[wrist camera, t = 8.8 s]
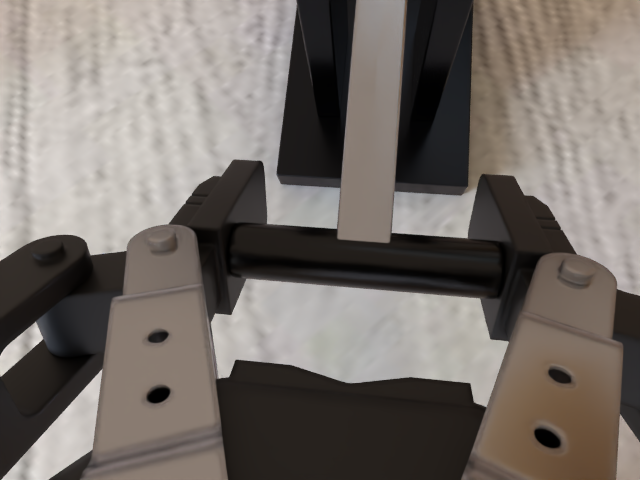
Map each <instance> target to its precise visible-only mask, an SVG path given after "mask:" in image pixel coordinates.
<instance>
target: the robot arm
mask: <svg viewBox="0 0 640 480" xmlns="http://www.w3.org/2000/svg"><path fill="white" fill-rule="evenodd" d="M238 222H245V223H259V224H267V206H266V190H265V174H264V166H263V163H262V161H251V160H233V161H232V162H231V164H230V165H229V167H228V168H227V169H226V171H225V172H224V174H223V175H222V176H221V177H219V176H213V177H211V178H210V179H208V180H206V181H204V182H203V183H201V184H199V186H198V187H197V188H196V189H195V191H194V192H193V193H192V196H190V197H189V198H188V200H187V201H186V204H184V205H183V206H182V207H181V209H180V210H179V211H178V213H177V214H176V215H175V216H174V218H173V219H172V220H171V222H170V223H169V224H168V225H160V226H155V227H151V228H148V229H145V230H143V231H141V232H139V233H138V234H136V235H135V236H134V237H132V239H131V240H130V241H129V243H128V246H127V251H124V252H117V253H108V254H99V255H90V253H89V250H88V247H87V243H86V242H85V240H83V239H82V238H80V237H77V236H73V235H56V236H50V237H45V238H42V239H38V240H36V241H33V242H31V243H29V244H27V245H25V246H23V247H21V248H20V249H18V250H17V251H15V252H14V253H12V254H11V255H9V256H8V257H6V258H5V259H3V260H1V261H0V355H1V353H2V352H3V350H4V349H5V347H6V346H7V345H8V344H9V343H11V342H12V341H13V340H14V339H15V338H17V337H18V336H19V335H20V334H21V333H23V332H24V331H25V330H26V329H27V328H29V327H30V326H31V325H32V324H33V323H35V322H36V323H37V325H38V327H39V330H40V332H41V334H42V336H43V340H42V341H41V342H40V343H39V344H38V345H36V346H35V347H34V348H33V349H32V350H31V351H30V352H29V353H27V354H26V355H25V356H24V357H23V358H22V359H21V360H19V361H18V362H17V363H16V364H15V365H14V366H13V367H12V368H10V369H9V370H8V371H7V372H6V373H5V374H4V375H3V376H1V377H0V480H1V479H2V478H3V477H4V476H5V475H6V474H7V473H8V471H9V470H10V469H11V468H12V467H13V466H14V465H15V464H16V463H17V462H18V460H19V459H20V458H21V457H22V456H23V455H24V454H25V453H26V452H27V451H28V450H29V448H30V447H31V446H32V445H33V444H34V443H35V442H36V441H37V440H38V439H39V437H40V436H41V435H42V434H43V433H44V432H45V431H46V430H47V429H48V428H49V427H50V425H51V424H52V423H53V422H54V421H55V420H56V419H57V418H58V417H59V416H60V414H61V413H62V412H63V411H64V410H65V409H66V408H67V407H68V406H69V405H70V404H71V402H72V401H73V400H74V399H75V398H76V397H77V396H78V395H79V394H80V393H81V391H82V390H83V389H84V388H85V387H86V386H87V385H88V384H89V383H90V382H91V380H92V379H93V378H94V377H95V376H96V375H97V374H98V373H99V372H100V371H101V370H102V368H103V371H102V379H101V387H100V395H99V403H98V411H97V419H96V427H95V435H94V443H93V450H91V451H90V452H88V453H87V454H86V455H84V456H83V457H81V458H80V459H78V460H77V461H75V462H74V463H72V464H71V465H69V466H68V467H66V468H65V469H63V470H62V471H61V472H59V473H58V474H56V475H55V476H53V477H52V478H50V479H49V480H616V471H617V454H618V436H619V418H620V414H621V416H622V417H623V419H624V420H625V421H626V423H627V424H628V426H629V427H630V429H631V430H632V431H633V433H634V434H635V436H636V437H637V439H638V440H639V441H640V296H638V295H634V294H630V293H627V292H623V291H621V290H618V289H617V281H616V278H615V277H614V275H613V274H612V273H611V272H610V271H609V270H608V269H607V268H606V267H604V266H603V265H601V264H599V263H598V262H596V261H594V260H591V259H589V258H586V257H583V256H580V255H577V254H576V252H575V251H574V249H573V247H572V246H571V244H570V242H569V241H568V239H567V237H566V236H565V234H564V232H563V231H562V230H561V227H560V226H559V224H558V222H557V221H555V217H554V216H553V214H552V212H551V211H550V209H549V207H548V206H547V205H545V204H544V203H542V202H541V201H540V200H538V199H537V198H535V197H534V196H524V194H523V192H522V191H521V189H520V187H519V185H518V183H517V181H516V179H515V177H514V176H507V175H489V174H482V175H481V177H480V179H479V183H478V187H477V192H476V196H475V201H474V206H473V211H472V215H471V220H470V225H469V230H468V239H481V240H495V241H498V242H500V243H501V245H502V248H503V252H504V258H505V273H504V280H503V285H502V288H501V291H500V293H499V295H498V297H497V298H495V299H482V298H480V300H481V304H482V307H483V311H484V315H485V319H486V323H487V327H488V331H489V335H490V339H493V340H504V341H509V344H508V347H507V350H506V353H505V356H504V359H503V362H502V364H501V367H500V370H499V373H498V376H497V379H496V382H495V385H494V388H493V391H492V393H491V396H490V399H489V402H488V405H487V407H484V406H482V405H479V404H476V403H474V401H473V396H472V390H471V385H470V383H462V382H452V381H442V380H432V379H422V378H412V377H409V378H399V379H390V380H381V381H372V382H362V383H345V382H341V381H338V380H335V379H332V378H329V377H326V376H323V375H320V374H317V373H313V372H310V371H307V370H304V369H301V368H298V367H295V366H292V365H283V364H274V363H264V362H254V361H244V360H235V363H234V366H233V369H232V371H231V374H230V377H228V378H220V379H219V377H218V370H217V363H216V356H215V349H214V342H213V335H212V329H211V321H212V319H213V317H214V315H215V313H216V314H227V315H231V314H232V312H233V309H234V307H235V305H236V302H237V300H238V298H239V295H240V293H241V290H242V288H243V286H244V283H245V281H246V278H235V277H233V276H231V274H230V272H229V268H228V261H227V250H228V242H229V237H230V234H231V231H232V228H233V226H234V225H235V224H236V223H238Z"/></svg>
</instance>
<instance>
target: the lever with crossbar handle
mask: <svg viewBox="0 0 640 480" xmlns="http://www.w3.org/2000/svg"><path fill="white" fill-rule="evenodd" d="M407 1H408V0H356V6H355V19H354V31H353V43H352V55H351V67H350V79H349V91H348V103H347V115H346V127H345V139H344V151H343V163H342V175H341V187H340V200H339V212H338V224H337V229H328V228H315V227H301V226H287V225H273V224H259V223H245V222H238V223H236V224H235V225H234V226H233V228H232V231H231V234H230V237H229V242H228V250H227V261H228V268H229V272H230V274H231V276H233V277H235V278H246V279H258V280H270V281H281V282H293V283H305V284H317V285H328V286H340V287H352V288H364V289H376V290H387V291H399V292H411V293H423V294H435V295H446V296H458V297H470V298H482V299H495V298H497V297H498V295H499V293H500V291H501V288H502V285H503V280H504V273H505V258H504V252H503V248H502V245H501V243H500V242H498V241H495V240H481V239H467V238H453V237H439V236H425V235H412V234H398V233H392V219H393V204H394V190H395V175H396V161H397V146H398V132H399V117H400V103H401V88H402V74H403V59H404V45H405V30H406V16H407Z"/></svg>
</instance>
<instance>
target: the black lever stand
mask: <svg viewBox="0 0 640 480" xmlns="http://www.w3.org/2000/svg"><path fill="white" fill-rule="evenodd" d="M296 1H297V9H296V18H295V26H294V34H293V42H292V51H291V59H290V67H289V75H288V84H287V92H286V100H285V108H284V117H283V125H282V133H281V141H280V149H279V158H278V166H277V177H278V179H279V181H280V183H281V184H287V185H303V186H319V187H335V188H340V187H341V175H342V163H343V151H344V139H345V127H346V115H347V103H348V91H349V79H350V67H351V55H352V43H353V31H354V19H355V6H356V0H296ZM473 1H474V0H408V1H407V16H406V30H405V45H404V59H403V74H402V88H401V103H400V117H399V132H398V146H397V161H396V175H395V190H394V191H399V192H414V193H430V194H446V195H462V194H463V193H464V191H465V190H466V188H467V187H468V168H469V133H470V98H471V63H472V28H473Z"/></svg>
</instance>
